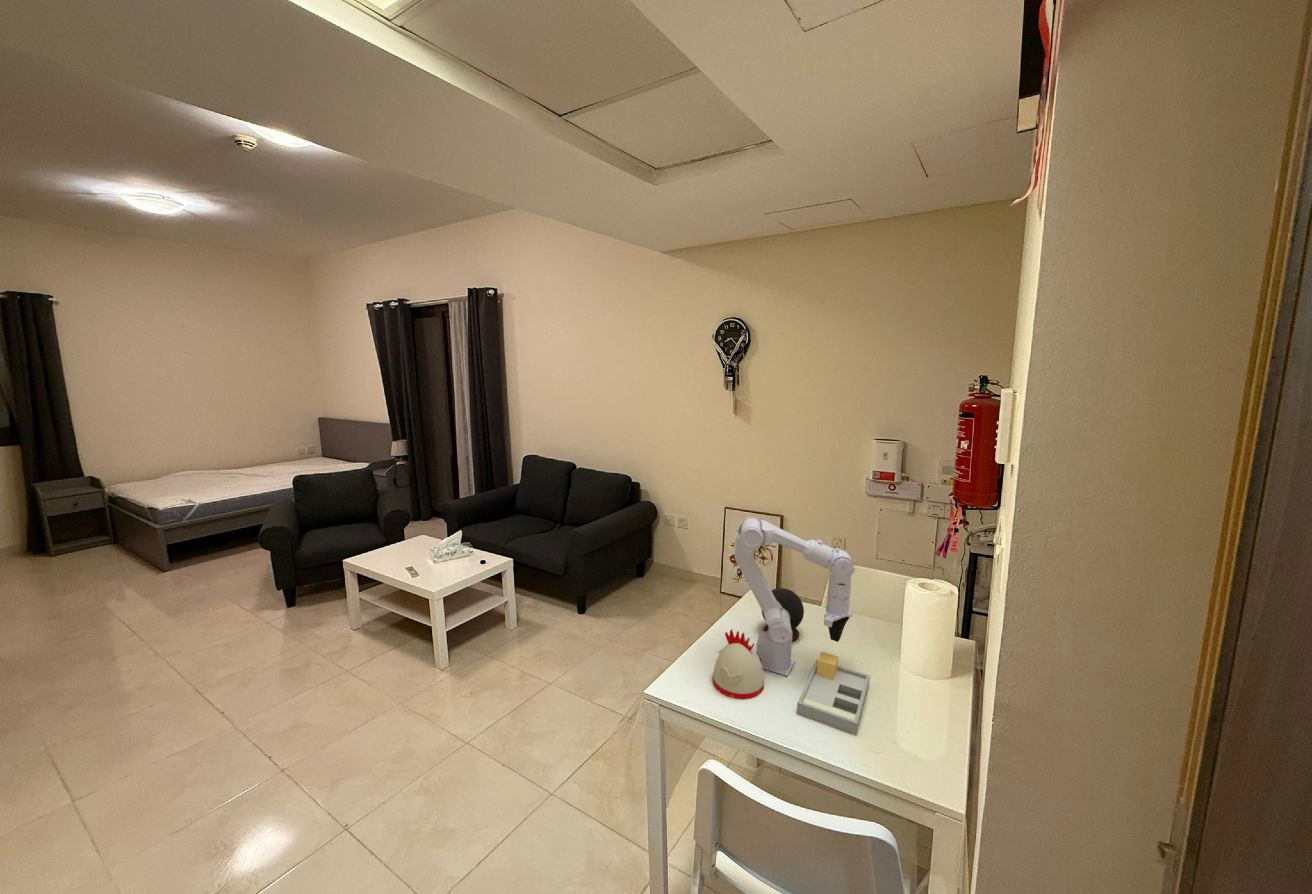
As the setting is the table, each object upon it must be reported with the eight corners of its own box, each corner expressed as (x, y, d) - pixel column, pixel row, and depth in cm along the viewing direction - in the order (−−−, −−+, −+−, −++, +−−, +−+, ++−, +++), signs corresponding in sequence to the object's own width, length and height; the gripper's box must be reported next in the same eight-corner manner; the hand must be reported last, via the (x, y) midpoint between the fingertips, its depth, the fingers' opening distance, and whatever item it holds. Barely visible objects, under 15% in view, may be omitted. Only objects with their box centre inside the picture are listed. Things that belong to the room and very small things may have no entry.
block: (816, 674, 136) (817, 659, 135) (820, 666, 139) (821, 651, 139) (833, 680, 133) (834, 665, 133) (837, 671, 137) (838, 656, 136)
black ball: (752, 626, 164) (754, 583, 161) (787, 620, 168) (790, 578, 165) (773, 648, 151) (776, 602, 149) (810, 641, 155) (813, 596, 153)
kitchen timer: (724, 661, 145) (726, 613, 142) (770, 676, 138) (773, 627, 135) (704, 688, 133) (705, 636, 130) (753, 706, 126) (756, 652, 124)
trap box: (796, 713, 124) (797, 702, 123) (816, 668, 141) (816, 659, 141) (856, 735, 117) (857, 723, 116) (868, 685, 135) (869, 675, 134)
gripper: (844, 609, 128) (840, 656, 131) (862, 589, 139) (858, 633, 142) (817, 600, 133) (814, 646, 135) (837, 582, 144) (833, 625, 146)
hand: (835, 639), depth 139 cm, fingers closed
